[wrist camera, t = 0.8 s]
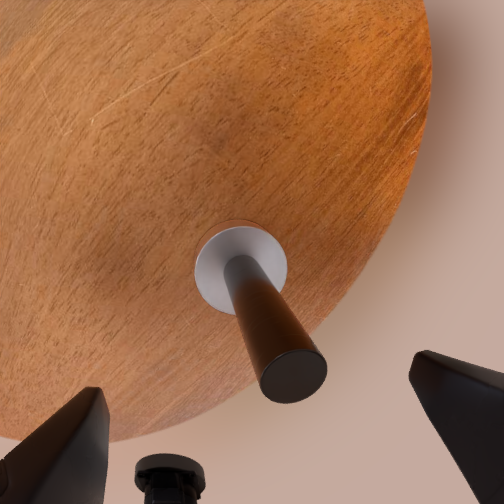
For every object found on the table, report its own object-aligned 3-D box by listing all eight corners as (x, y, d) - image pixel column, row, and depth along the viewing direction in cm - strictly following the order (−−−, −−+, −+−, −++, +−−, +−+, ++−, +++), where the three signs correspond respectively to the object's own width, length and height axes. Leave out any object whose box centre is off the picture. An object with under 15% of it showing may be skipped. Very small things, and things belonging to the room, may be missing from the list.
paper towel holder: (275, 298, 20) (354, 421, 10) (195, 302, 19) (209, 444, 9) (280, 219, 19) (387, 291, 8) (193, 219, 18) (200, 303, 7)
